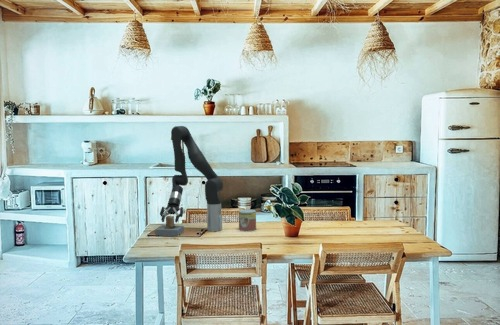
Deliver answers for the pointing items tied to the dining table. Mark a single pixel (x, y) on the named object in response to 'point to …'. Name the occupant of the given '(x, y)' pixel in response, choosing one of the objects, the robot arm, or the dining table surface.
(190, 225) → the dining table surface
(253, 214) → the canned food
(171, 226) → the walnut post
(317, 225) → the dining table surface
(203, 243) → the dining table surface
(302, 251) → the dining table surface
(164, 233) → the charcoal well block
